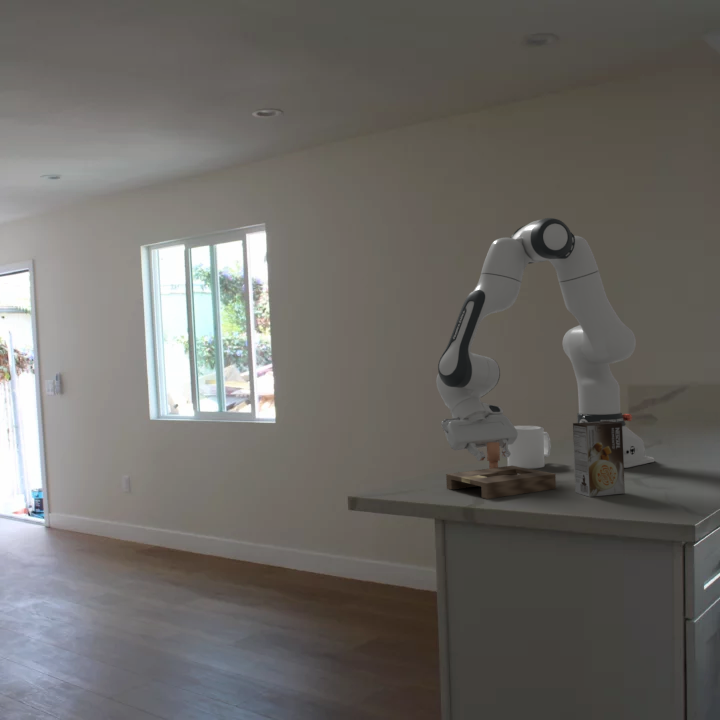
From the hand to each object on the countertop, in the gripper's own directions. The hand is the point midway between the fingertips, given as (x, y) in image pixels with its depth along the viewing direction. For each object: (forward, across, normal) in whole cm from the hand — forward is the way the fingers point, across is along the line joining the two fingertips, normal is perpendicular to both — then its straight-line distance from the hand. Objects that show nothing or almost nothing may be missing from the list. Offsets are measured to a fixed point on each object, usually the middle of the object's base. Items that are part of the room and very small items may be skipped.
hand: (494, 457), depth 205 cm
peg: (+3, 0, +4) cm, 5 cm away
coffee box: (+25, +6, -18) cm, 31 cm away
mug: (-4, +20, +11) cm, 23 cm away
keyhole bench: (+12, -8, -5) cm, 16 cm away
